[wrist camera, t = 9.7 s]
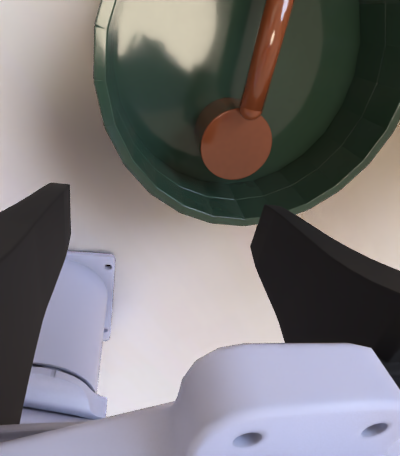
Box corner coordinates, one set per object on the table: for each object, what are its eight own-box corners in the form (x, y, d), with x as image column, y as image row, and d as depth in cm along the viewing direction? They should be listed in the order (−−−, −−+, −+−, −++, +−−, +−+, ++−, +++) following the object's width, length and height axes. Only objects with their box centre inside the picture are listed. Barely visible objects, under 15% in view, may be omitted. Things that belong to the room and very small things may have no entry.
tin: (307, 196, 24) (341, 234, 20) (100, 172, 21) (90, 213, 16) (413, -62, 16) (504, -85, 12) (111, -165, 13) (98, -247, 9)
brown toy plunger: (248, 166, 21) (266, 193, 18) (188, 158, 20) (197, 185, 17) (310, -48, 16) (353, -62, 12) (231, -72, 15) (255, -94, 12)
